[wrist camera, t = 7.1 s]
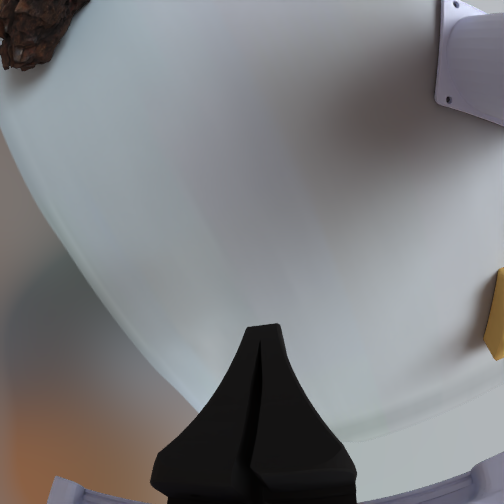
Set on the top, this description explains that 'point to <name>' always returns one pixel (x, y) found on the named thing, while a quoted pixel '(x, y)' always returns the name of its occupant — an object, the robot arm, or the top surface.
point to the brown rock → (33, 30)
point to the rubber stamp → (496, 320)
